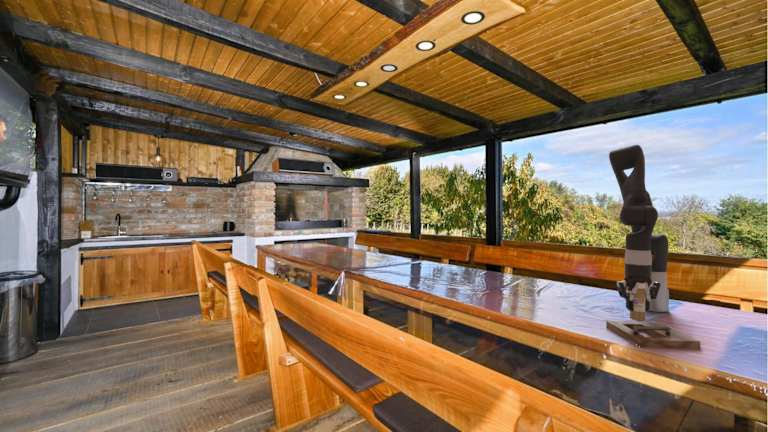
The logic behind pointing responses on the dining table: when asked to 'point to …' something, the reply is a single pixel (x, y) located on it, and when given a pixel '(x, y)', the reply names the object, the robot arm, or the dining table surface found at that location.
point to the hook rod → (666, 328)
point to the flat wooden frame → (658, 337)
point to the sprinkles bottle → (639, 304)
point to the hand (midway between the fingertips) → (637, 310)
